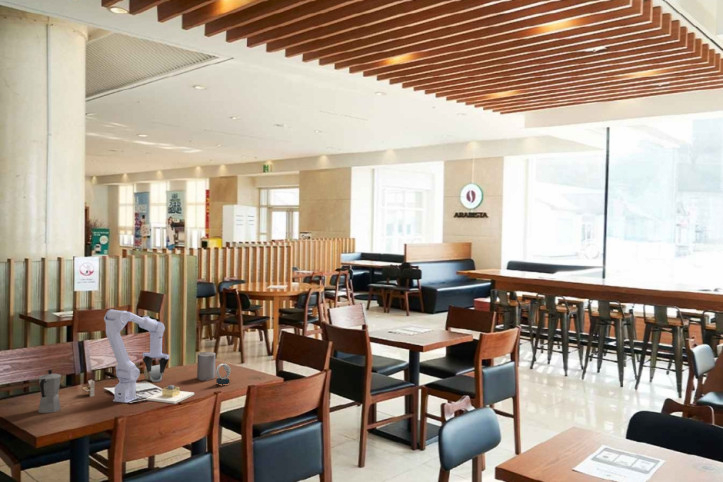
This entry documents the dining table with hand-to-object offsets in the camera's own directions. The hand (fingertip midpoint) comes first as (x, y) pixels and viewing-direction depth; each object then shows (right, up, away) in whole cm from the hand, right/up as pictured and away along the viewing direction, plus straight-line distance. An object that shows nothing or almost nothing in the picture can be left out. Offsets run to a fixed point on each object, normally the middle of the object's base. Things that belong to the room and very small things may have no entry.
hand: (155, 372), depth 293 cm
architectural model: (-28, -10, -10) cm, 32 cm away
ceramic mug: (-8, -9, +21) cm, 24 cm away
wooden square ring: (+11, -9, -11) cm, 18 cm away
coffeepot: (-35, -9, -35) cm, 51 cm away
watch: (+30, -10, +15) cm, 35 cm away
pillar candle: (+18, -10, +27) cm, 34 cm away
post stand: (+11, -10, -11) cm, 18 cm away
